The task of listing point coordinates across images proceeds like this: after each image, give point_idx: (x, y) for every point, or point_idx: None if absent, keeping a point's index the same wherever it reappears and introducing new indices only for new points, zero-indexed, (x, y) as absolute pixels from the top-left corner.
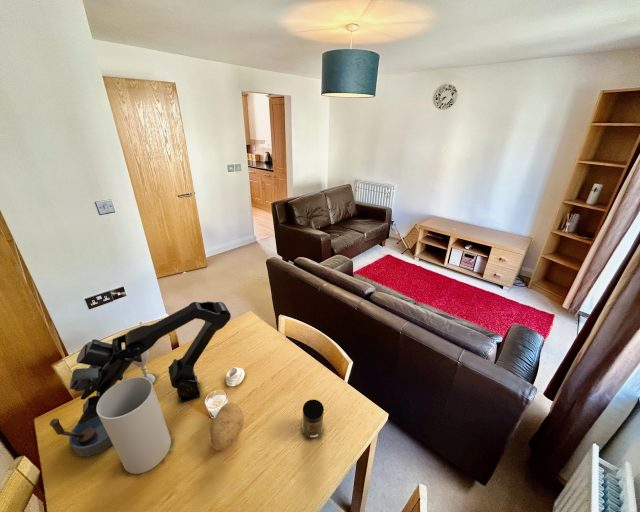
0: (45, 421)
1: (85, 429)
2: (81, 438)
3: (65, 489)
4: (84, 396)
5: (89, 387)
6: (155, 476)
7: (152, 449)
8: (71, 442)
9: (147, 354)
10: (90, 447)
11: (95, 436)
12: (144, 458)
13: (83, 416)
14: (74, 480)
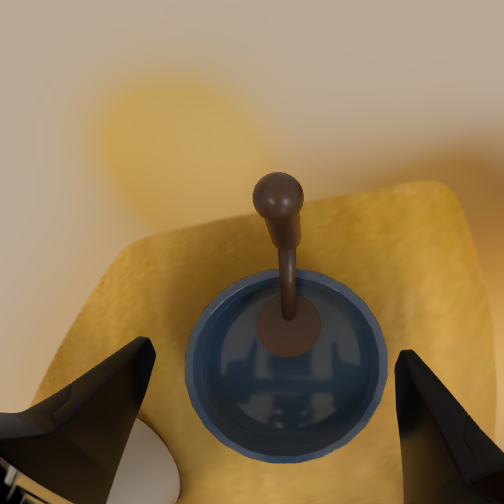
0: (446, 189)
1: (316, 322)
2: (277, 309)
3: (146, 267)
4: (404, 382)
5: (435, 458)
6: None
7: None
8: (258, 278)
9: None
10: (190, 343)
11: None
12: None
13: (69, 389)
14: (156, 287)
